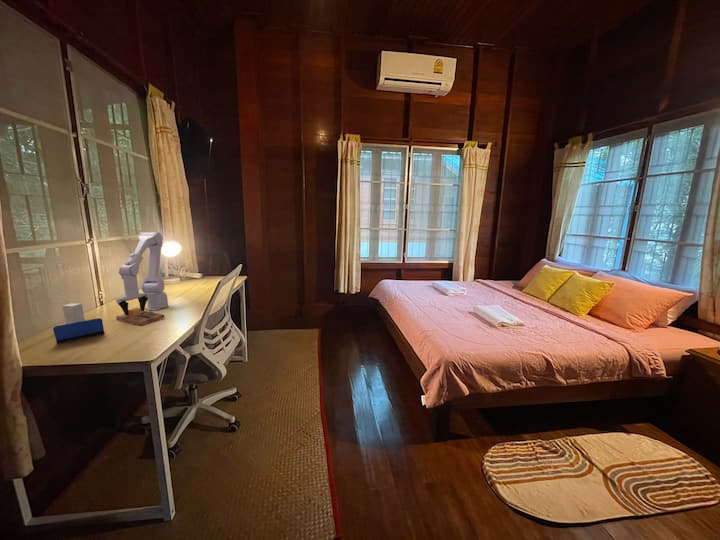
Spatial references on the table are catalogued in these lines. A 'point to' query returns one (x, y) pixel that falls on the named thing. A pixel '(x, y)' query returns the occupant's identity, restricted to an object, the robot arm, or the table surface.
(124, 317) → the socket block
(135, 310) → the square bit
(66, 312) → the skincare box
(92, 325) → the blue box
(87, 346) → the table surface
